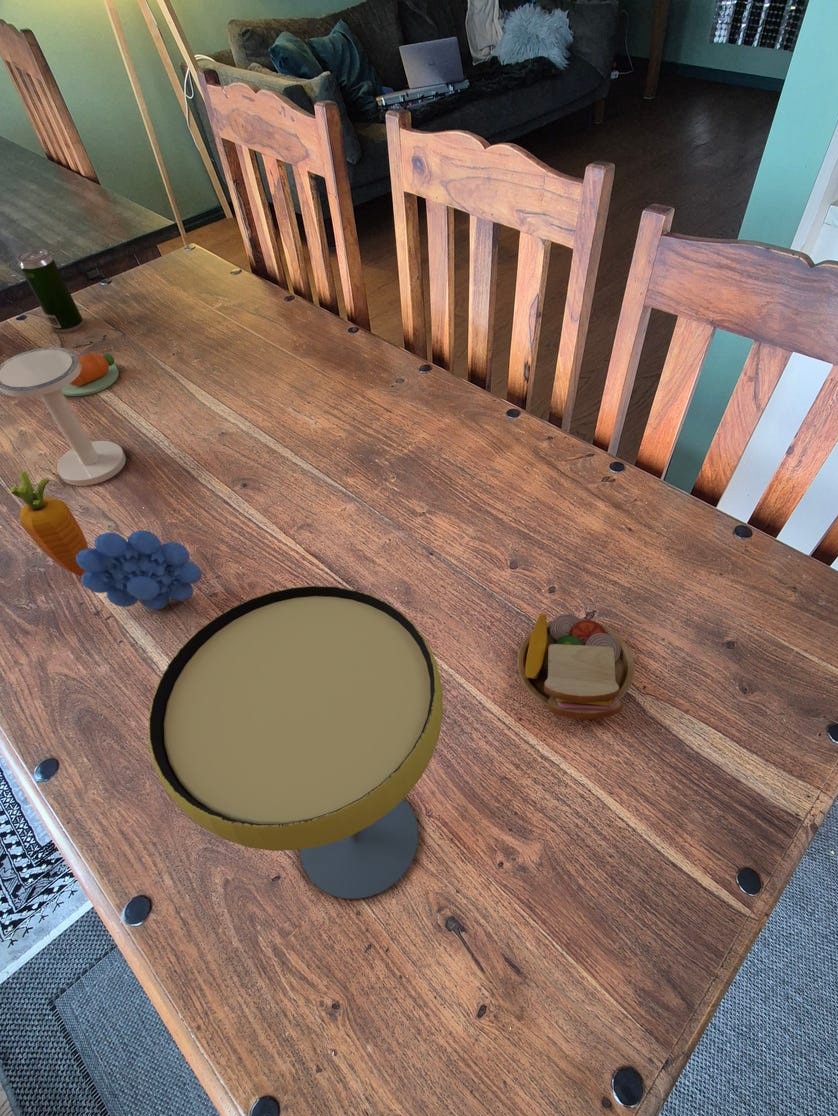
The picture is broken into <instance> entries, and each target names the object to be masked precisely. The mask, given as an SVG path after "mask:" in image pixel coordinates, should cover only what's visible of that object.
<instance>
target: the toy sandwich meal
mask: <svg viewBox="0 0 838 1116" xmlns="http://www.w3.org/2000/svg"><path fill="white" fill-rule="evenodd" d="M516 664H517V670H518V675H519V678H520V680H521V682H522V684H523V685H524V687H525V688H526V690H527V691H528V692H529V693H530V694H531V696H533V697H534V698H535V699H537V700H538V701H539V702H541V703H543V704H544V705H545V706H547V710H548V711H549V712H550V713H552V714H554V715H557V716H559V717H563V718H568V719H576V720H594V719H595V720H598V719H602V718H603V719H604V718H609V717H612V716H615V715H617V714H620V712H621V711H622V707H623V703H622V701H621V699H622V698H623V697H624V696H625V695H626V694H627V692H628V691H629V689H630V688H631V686H632V684H633V681H634V677H635V660H634V657H633V654H632V652H631V649H630V648H629V646H628V645H627V643H626V642H625V641H624V639H623V638H621V636H620V635H619V634H618V633H616V631H614V630H612V629H611V628H609V627H608V626H606V625H604V624H602V623H600V622H597V621H595V620H592V619H587V618H582V617H578V616H577V615H575V614H572V613H562V614H559V615H557V616H556V617H555V618H554V619H553V620H549V621H547V614H546V613H540V614H539V615H538V618H537V620H536V622H535V624H534V627H533V629H532V631H530V633H528V634H527V636H525V639H523V640H522V642H521V645H520V647H519V649H518V653H517V659H516Z"/></svg>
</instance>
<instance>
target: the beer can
mask: <svg viewBox="0 0 838 1116" xmlns="http://www.w3.org/2000/svg"><path fill="white" fill-rule="evenodd" d="M16 260H17V263H18V264H17V265H18V267H19V269H20V271H21V272H22V275H23V276H24V278H25V280H26V282H27V283H28V285H29V287H30V289H31V291H32V293H33V295H34V296H35V298H36V300H37V302H38V304H39V306H40V307H41V309H42V311H43V313H44V315H45V317H46V318H47V320H48V322H49V324H50V326H51V328H52V329H53V330H55V332H56V333H61V334H67V333H72V332H75V331H77V330H79V329H81V328H82V327H83V325H84V319H83V317H82V315H81V312H80V309H79V308H78V306H77V304H76V303H75V300H74V298H73V296H72V294H71V292H70V290H69V288H68V285H67V284H66V282H65V280H64V278H63V276H62V274H61V271H59V268H58V266H57V264H56V262H55V260H54V258H53V257H52V256H51V254H50V253H49V252H48V250H46V249H44V248H34V249H29V250H25V251H23V252H20V253H19V254H18V255H17V256H16Z"/></svg>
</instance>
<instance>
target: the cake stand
mask: <svg viewBox="0 0 838 1116" xmlns="http://www.w3.org/2000/svg"><path fill="white" fill-rule="evenodd" d="M81 368H82V366H81V363H80V361H79V357H78V355H77V354H76V353H75V352H74V351H72V350H71V349H68V348H65V347H57V346H48V347H47V346H46V347H39V348H34V349H30V350H29V349H28V350H26V351H23V352H21V353H20V352H19V353H18V354H15V355H14V356H11V357H9V358H7V359H6V360H4V361H3V362H2V363H1V364H0V392H1V393H2V394H3V395H5V396H7V397H11V398H12V397H13V398H23V399H24V398H34V397H39V396H40V398H41V400H42V402H43V403H44V405H45V407H46V409H47V410H48V412H49V414H50V415H51V417H52V418H53V420H54V422H55V424H56V425H57V426H58V429H59V431H60V432H61V433H62V435H63V437H64V438H65V440H66V441H67V443H68V445H69V447H70V450H68V451H66V452H65V453H64V454H63V455H62V456H61V457H60V458H59V460H58V461H57V463H56V472H57V474H58V475H59V477H60V478H61V480H62V481H63V482H64V483H66V484H68V485H72V486H78V487H87V486H93V485H97V484H100V483H102V482H105V481H108V480H110V479H111V478H113V477H114V476H116V475H117V474H119V473H120V472H121V470H122V469H123V468H124V467H125V464H126V460H127V457H126V454H125V452H124V450H123V448H122V447H121V446H120V445H119V444H117V443H116V442H114V441H108V440H95V441H94V440H93V441H91V439H90V438H89V436H88V433H87V432H86V431H85V430H84V427H83V426H82V424H81V422H80V420H79V418H78V417H77V415H76V413H75V411H74V410H73V408H72V406H71V405H70V403H69V401H68V400H67V398H66V395H64V394H63V392H62V391H61V388H63V387H65V386H66V385H68V384H70V383H71V382H72V381H74V380H75V379H76V378H77V377H78V375H79V374H80V372H81Z"/></svg>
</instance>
